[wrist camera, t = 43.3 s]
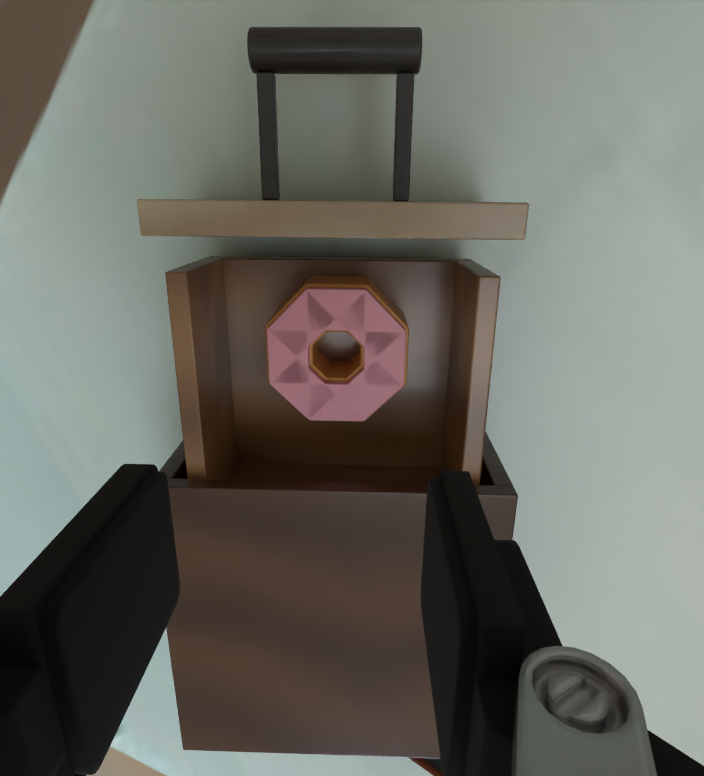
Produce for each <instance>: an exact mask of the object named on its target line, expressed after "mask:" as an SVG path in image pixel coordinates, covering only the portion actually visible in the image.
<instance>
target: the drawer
mask: <svg viewBox="0 0 704 776" xmlns="http://www.w3.org/2000/svg"><path fill="white" fill-rule="evenodd" d="M247 45H248V57H249V63H250V67H251V69H252V72H253V73H255V74H257V93H258V115H259V137H260V159H261V182H262V199H263V200H202V199H138V200H137V205H138V214H139V222H140V230H141V235H143V236H213V237H305V238H398V239H491V240H524V239H525V235H526V226H527V217H528V208H529V204H528V203H510V202H421V201H409V187H410V163H411V139H412V115H413V92H414V74H418V73H419V71H420V66H421V56H422V30H421V28H419V27H251V28H249V31H248V38H247ZM274 74H397V80H396V111H395V142H394V172H393V201H312V200H279V199H280V192H279V163H278V135H277V106H276V77H275V75H274ZM165 274H166V284H167V293H168V302H169V311H170V321H171V330H172V339H173V348H174V358H175V367H176V376H177V386H178V395H179V404H180V413H181V423H182V432H183V441H184V450H185V460H186V469H187V478H188V479H212V480H257V481H303V482H349V483H395V484H428V479H429V478H438V474H439V471H469V473H470V476H471V478H472V481H473V484H474V485H480V476H481V466H482V456H483V446H484V436H485V427H486V417H487V407H488V397H489V387H490V377H491V367H492V357H493V348H494V338H495V328H496V318H497V308H498V298H499V288H500V276H498V275H496V274H495V273H493V272H491V271H490V270H488V269H486V268H484V267H483V266H481V265H479V264H477V263H476V262H474V261H472V260H470V259H418V258H333V257H247V256H210V257H208V258H204V259H201V260H198V261H196V262H193V263H190V264H187V265H184V266H182V267H179V268H176V269H173V270H170V271H168V272H166V273H165ZM313 275H343V276H367V277H369V278H370V279H371V280H372V281H373V282H374V283H375V284H376V285H377V286H378V287H379V288H380V289H381V290H382V291H383V292H384V293H385V295H386V296H387V297H388V298H389V299H390V300H391V301H392V302H393V303H394V304H395V305H396V306H397V307H398V308H399V309H400V310H401V311H402V312H403V313H404V315H405V318H406V321H407V325H408V328H409V341H408V363H407V382H406V385H405V386H404V387H403V388H402V389H400V390H399V391H398V392H397V393H396V394H395V395H394V396H393V397H391V398H390V399H389V400H388V401H387V402H386V403H385V404H384V405H382V406H381V407H380V408H379V409H378V410H377V411H376V412H375V413H373V414H372V415H371V416H370V417H369V418H368V419H367V420H365V421H311V420H308V419H307V418H306V417H305V416H304V415H303V414H302V413H301V412H300V411H298V410H297V409H296V408H295V407H294V406H293V405H292V404H291V403H290V402H289V401H288V400H287V399H285V398H284V397H283V396H282V395H281V394H280V393H279V392H278V391H277V390H276V389H275V388H274V387H273V386H271V385H270V383H269V382H268V379H267V358H266V337H265V326H266V323H267V322H268V321H269V320H270V319H271V317H272V316H273V315H274V314H275V312H276V311H277V310H278V309H279V308H280V307H281V306H282V305H283V304H284V303H285V302H286V301H287V300H288V299H289V298H290V297H291V296H292V295H293V294H294V293H295V292H296V291H297V290H298V289H299V288H300V287H301V286H302V285H303V284H304V283H305V282H306V281H307V280H308V279H309V278H310V277H311V276H313ZM318 349H319V350H320V351H321V352H322V353H323V354H324V355H325V356H326V357H327V358H329V359H330V360H331V361H349V360H350V359H351V358H352V357H353V356H354V355H355V354H357V353H358V352H359V351H360V350H361V346H360V345H359V344H358V343H357V342H356V341H355V340H354V339H353V338H352V337H351V336H350V335H349V334H348V333H347V332H326V333H325V334H324V335H323V336H322V337H321V338H320V339H319V340H318Z"/></svg>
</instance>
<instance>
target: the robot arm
mask: <svg viewBox="0 0 704 776" xmlns="http://www.w3.org/2000/svg"><path fill="white" fill-rule="evenodd" d="M179 594H180V579H179V571H178V563H177V554H176V546H175V538H174V530H173V522H172V514H171V505H170V497H169V489H168V481H167V476H166V474H165V473H164V472H158V469H157V467H156V466H155V465H149V464H124V465H122V466H121V467H120V468H119V469H118V470H117V471H116V472H115V474H114V475H113V476H112V477H111V478H110V479H109V480H108V481H107V482H106V483H105V484H104V485H103V486H102V488H101V489H100V490H99V491H98V492H97V493H96V494H95V495H94V496H93V497H92V498H91V499H90V501H89V502H88V503H87V504H86V505H85V506H84V507H83V508H82V509H81V510H80V511H79V512H78V513H77V515H76V516H75V517H74V518H73V519H72V520H71V521H70V522H69V523H68V524H67V525H66V526H65V527H64V529H63V530H62V531H61V532H60V533H59V534H58V535H57V536H56V537H55V538H54V539H53V540H52V542H51V543H50V544H49V545H48V546H47V547H46V548H45V549H44V550H43V551H42V552H41V553H40V554H39V556H38V557H37V558H36V559H35V560H34V561H33V562H32V563H31V564H30V565H29V566H28V567H27V569H26V570H25V571H24V572H23V573H22V574H21V575H20V576H19V577H18V578H17V579H16V580H15V581H14V583H13V584H12V585H11V586H10V587H9V588H8V589H7V590H6V591H5V592H4V593H3V594H2V596H1V597H0V776H86V775H92V774H94V773H96V772H97V770H98V769H99V767H100V766H101V764H102V762H103V759H104V757H105V755H106V753H107V751H108V749H109V747H110V745H111V743H112V741H113V738H114V736H115V734H116V732H117V730H118V728H119V726H120V724H121V722H122V719H123V717H124V715H125V713H126V711H127V709H128V707H129V705H130V702H131V700H132V698H133V696H134V694H135V692H136V690H137V688H138V686H139V683H140V681H141V679H142V677H143V675H144V673H145V671H146V669H147V666H148V664H149V662H150V660H151V658H152V656H153V654H154V652H155V650H156V647H157V645H158V643H159V641H160V639H161V637H162V635H163V633H164V631H165V628H166V626H167V624H168V622H169V620H170V618H171V616H172V614H173V611H174V609H175V607H176V605H177V602H178V599H179ZM421 612H422V620H423V628H424V635H425V643H426V651H427V658H428V666H429V674H430V682H431V689H432V697H433V705H434V712H435V720H436V728H437V735H438V743H439V751H440V759H441V766H442V774H443V776H704V766H703V765H701V764H700V763H698V762H696V761H695V760H693V759H692V758H690V757H689V756H687V755H686V754H684V753H683V752H681V751H679V750H678V749H676V748H675V747H673V746H672V745H670V744H669V743H667V742H665V741H664V740H662V739H661V738H659V737H658V736H656V735H655V734H653V733H652V732H650V731H648V730H647V726H646V722H645V717H644V713H643V708H642V705H641V703H640V700H639V698H638V695H637V693H636V691H635V689H634V688H633V687H632V685H631V684H630V683H629V682H628V680H627V679H626V678H625V676H624V675H622V674H621V673H620V672H619V671H618V670H617V669H615V668H614V667H613V666H612V665H611V664H609V663H608V662H606V661H604V660H602V659H601V658H599V657H597V656H595V655H594V654H591V653H589V652H586V651H583V650H580V649H577V648H572V647H564V646H562V644H561V642H560V639H559V637H558V635H557V632H556V630H555V628H554V626H553V623H552V621H551V619H550V616H549V614H548V612H547V609H546V607H545V605H544V603H543V600H542V598H541V596H540V593H539V591H538V589H537V587H536V584H535V582H534V580H533V577H532V575H531V573H530V570H529V568H528V566H527V564H526V561H525V559H524V557H523V554H522V552H521V550H520V548H519V546H518V544H517V542H515V541H514V540H494V537H493V535H492V532H491V529H490V527H489V524H488V521H487V519H486V516H485V513H484V511H483V508H482V505H481V503H480V500H479V497H478V494H477V492H476V489H475V486H474V484H473V481H472V478H471V476H470V473H469V471H439V474H438V478H429V479H428V485H427V500H426V516H425V532H424V547H423V563H422V579H421Z"/></svg>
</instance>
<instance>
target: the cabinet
mask: <svg viewBox="0 0 704 776" xmlns="http://www.w3.org/2000/svg"><path fill="white" fill-rule="evenodd" d="M159 472H164V473H165V474H166V476H167V481H168V489H169V497H170V505H171V514H172V522H173V530H174V538H175V546H176V554H177V563H178V571H179V579H180V594H179V599H178V602H177V605H176V607H175V609H174V611H173V614H172V616H171V618H170V620H169V622H168V624H167V626H166V628H167V635H168V642H169V650H170V657H171V664H172V672H173V679H174V686H175V693H176V701H177V708H178V715H179V722H180V730H181V737H182V744H183V749H184V750H204V751H234V752H263V753H293V754H322V755H351V756H381V757H410V758H440V751H439V743H438V735H437V728H436V720H435V712H434V705H433V697H432V689H431V682H430V674H429V666H428V658H427V651H426V643H425V635H424V628H423V620H422V612H421V579H422V563H423V547H424V532H425V516H426V500H427V485H428V484H395V483H349V482H303V481H257V480H212V479H188V478H187V469H186V460H185V450H184V441H182V442H181V444H180V445H179V446H178V447H177V449H176V450H175V451H174V453H173V454H172V455H171V457H170V458H169V459H168V460H167V462H166V463H165V464H164V466H163V467H162V468H161V470H160V471H159ZM474 486H475V489H476V492H477V494H478V497H479V500H480V503H481V505H482V508H483V511H484V513H485V516H486V519H487V521H488V524H489V527H490V529H491V532H492V535H493V537H494V540H512V537H513V530H514V522H515V514H516V506H517V499H518V495H517V493H516V491H515V489H514V487H513V485H512V483H511V481H510V479H509V477H508V475H507V473H506V471H505V469H504V467H503V465H502V463H501V461H500V459H499V457H498V455H497V453H496V451H495V449H494V447H493V445H492V443H491V441H490V439H489V437H488V435H487V433H486V431H485V436H484V446H483V456H482V466H481V476H480V485H474Z"/></svg>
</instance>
